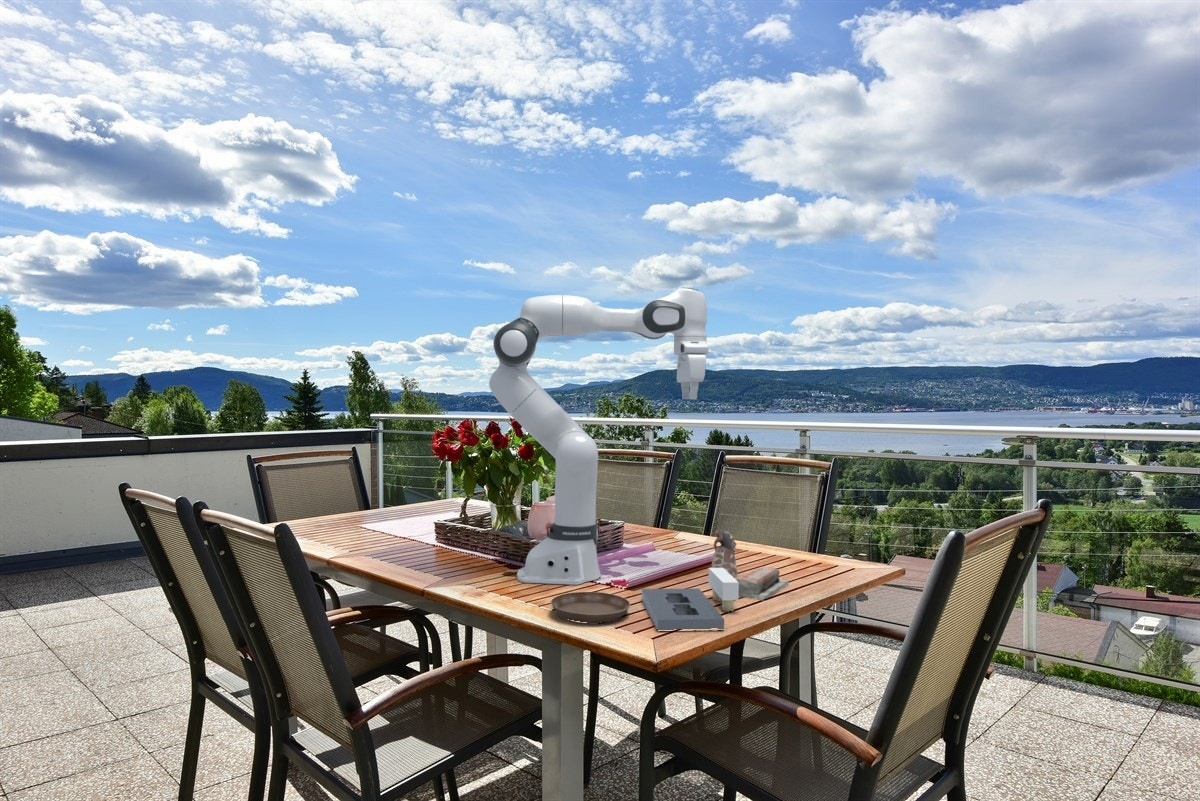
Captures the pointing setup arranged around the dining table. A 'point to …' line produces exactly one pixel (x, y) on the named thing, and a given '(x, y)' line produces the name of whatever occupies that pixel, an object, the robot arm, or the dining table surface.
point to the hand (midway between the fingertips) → (689, 399)
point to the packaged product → (760, 583)
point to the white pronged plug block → (723, 587)
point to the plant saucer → (590, 606)
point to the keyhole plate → (681, 609)
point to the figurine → (725, 553)
